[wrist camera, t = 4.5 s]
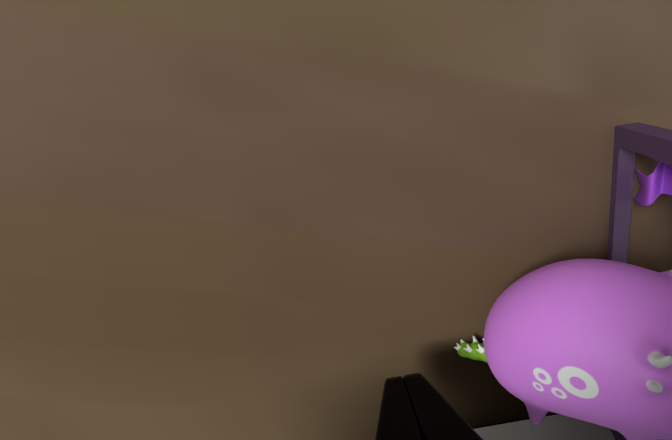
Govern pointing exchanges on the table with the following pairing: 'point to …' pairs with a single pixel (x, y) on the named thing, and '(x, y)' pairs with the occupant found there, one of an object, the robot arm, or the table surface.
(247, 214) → the table surface
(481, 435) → the slab
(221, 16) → the table surface
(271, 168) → the table surface
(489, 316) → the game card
